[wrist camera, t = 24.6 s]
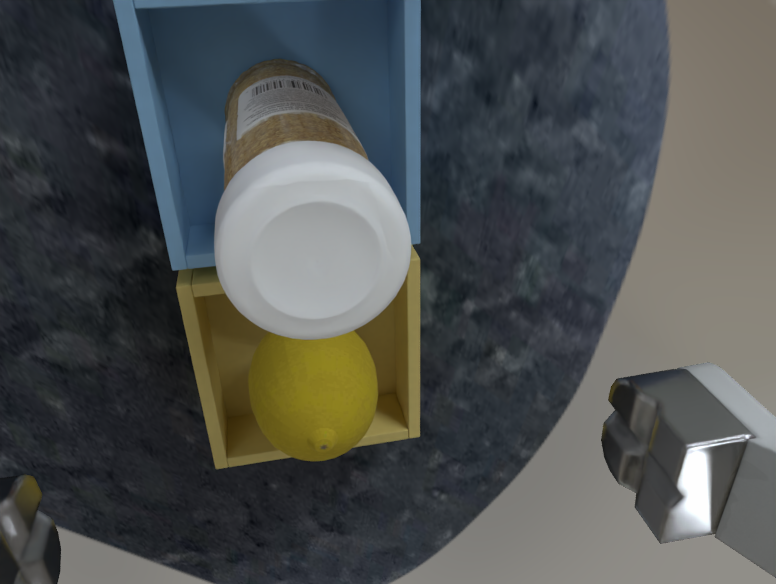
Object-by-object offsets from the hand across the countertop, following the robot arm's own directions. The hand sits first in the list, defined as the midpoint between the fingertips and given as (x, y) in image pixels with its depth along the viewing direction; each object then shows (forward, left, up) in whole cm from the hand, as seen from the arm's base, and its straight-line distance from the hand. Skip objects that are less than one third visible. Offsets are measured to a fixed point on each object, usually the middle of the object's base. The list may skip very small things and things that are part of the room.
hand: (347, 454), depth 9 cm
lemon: (0, -11, -20) cm, 22 cm away
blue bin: (0, 0, -20) cm, 20 cm away
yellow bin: (0, -11, -20) cm, 23 cm away
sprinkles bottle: (0, 0, -20) cm, 20 cm away
